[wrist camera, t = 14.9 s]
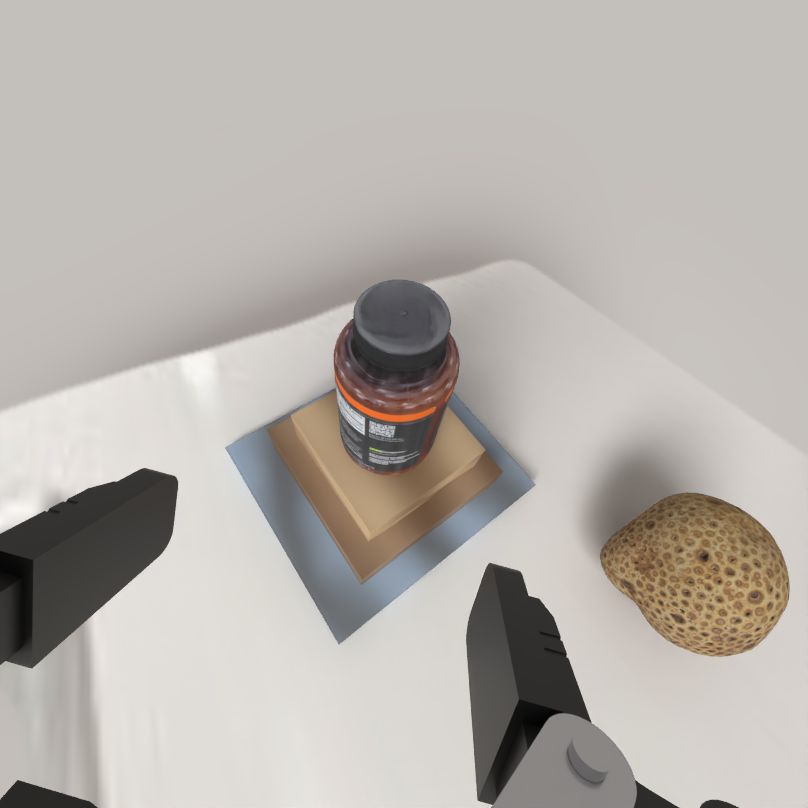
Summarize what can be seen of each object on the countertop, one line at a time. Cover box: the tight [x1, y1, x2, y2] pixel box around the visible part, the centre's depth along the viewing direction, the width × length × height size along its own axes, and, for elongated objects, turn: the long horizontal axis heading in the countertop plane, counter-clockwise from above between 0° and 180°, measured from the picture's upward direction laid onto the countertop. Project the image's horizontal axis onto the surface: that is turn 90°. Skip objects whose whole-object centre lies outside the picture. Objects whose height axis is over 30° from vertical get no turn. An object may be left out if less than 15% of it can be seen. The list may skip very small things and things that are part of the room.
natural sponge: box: [600, 493, 790, 657], centre depth 26 cm, size 9×9×10 cm
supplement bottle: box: [334, 280, 460, 475], centre depth 21 cm, size 6×6×11 cm
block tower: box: [225, 388, 535, 644], centre depth 29 cm, size 18×16×7 cm
